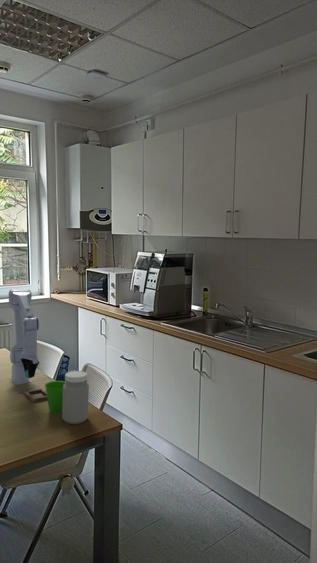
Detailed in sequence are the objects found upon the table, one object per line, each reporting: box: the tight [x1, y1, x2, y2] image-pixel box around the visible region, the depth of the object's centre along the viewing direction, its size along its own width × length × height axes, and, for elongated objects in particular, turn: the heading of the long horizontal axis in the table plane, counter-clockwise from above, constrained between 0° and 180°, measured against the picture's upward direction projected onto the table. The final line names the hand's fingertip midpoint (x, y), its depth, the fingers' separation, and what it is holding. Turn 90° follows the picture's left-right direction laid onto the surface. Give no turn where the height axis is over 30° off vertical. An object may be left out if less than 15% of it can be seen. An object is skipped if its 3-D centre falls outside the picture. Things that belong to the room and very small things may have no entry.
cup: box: [44, 380, 65, 415], centre depth 164 cm, size 9×9×11 cm
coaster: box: [18, 389, 31, 395], centre depth 183 cm, size 5×5×1 cm
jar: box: [61, 370, 90, 425], centre depth 157 cm, size 10×10×18 cm
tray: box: [23, 388, 48, 404], centre depth 177 cm, size 10×8×2 cm
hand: (29, 375), depth 180 cm, fingers closed on ball, 4 cm apart
